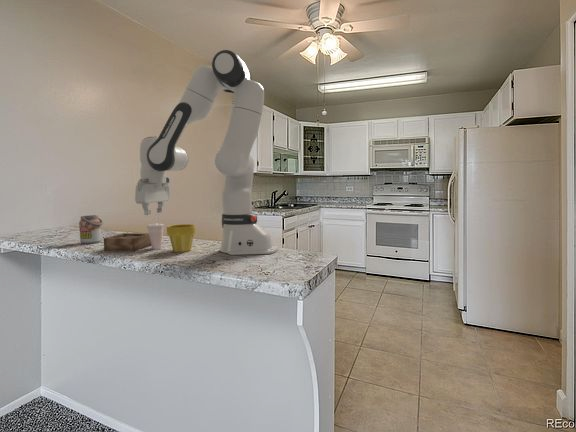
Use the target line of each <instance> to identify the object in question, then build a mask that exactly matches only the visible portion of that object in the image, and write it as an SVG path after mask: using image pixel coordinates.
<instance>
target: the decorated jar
mask: <svg viewBox="0 0 576 432" xmlns="http://www.w3.org/2000/svg"><path fill="white" fill-rule="evenodd" d="M102 225H104V221H103V220H102V219H101V218H99V215H97V214H96V215H95V214H94V215H93V214H92V215H81V216H80V220H79V222H78V227H79V239H80V241H79V242H80V244H82V245H93V244H99V243H101V241H102V240H103V239H102Z"/></svg>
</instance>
